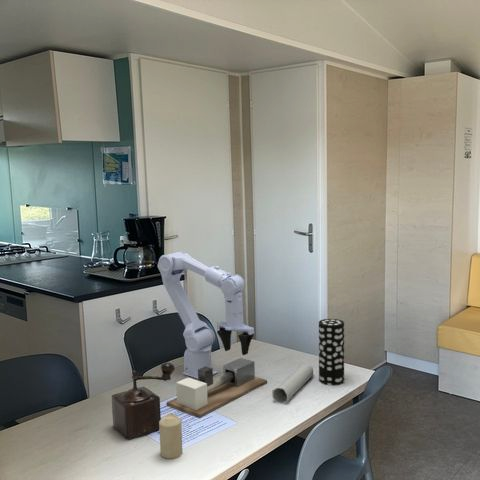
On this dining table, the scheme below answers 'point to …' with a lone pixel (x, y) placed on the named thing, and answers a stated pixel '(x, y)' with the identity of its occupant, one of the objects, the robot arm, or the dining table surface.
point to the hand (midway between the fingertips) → (236, 352)
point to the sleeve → (240, 371)
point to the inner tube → (207, 377)
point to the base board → (219, 397)
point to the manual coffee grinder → (138, 407)
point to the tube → (292, 384)
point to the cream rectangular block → (192, 393)
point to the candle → (170, 436)
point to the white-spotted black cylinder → (331, 351)
